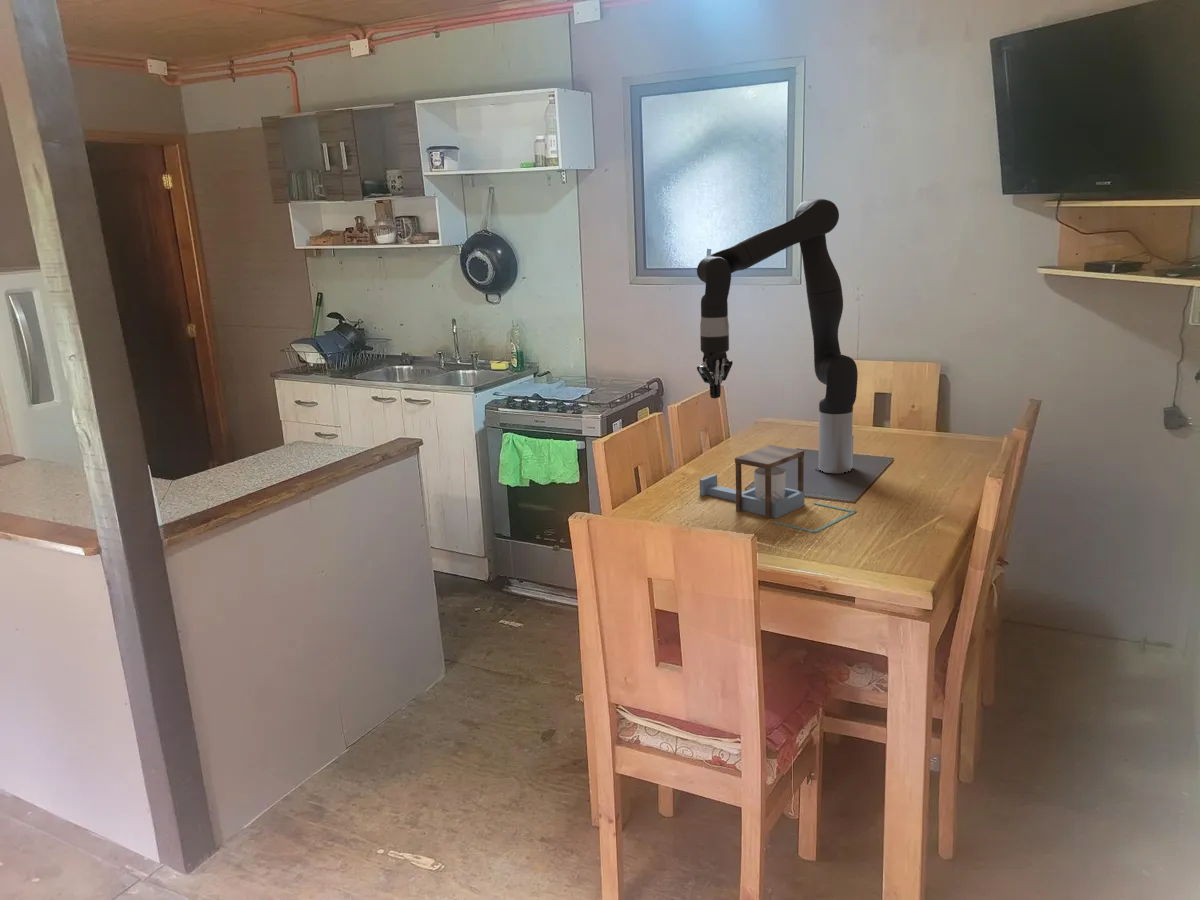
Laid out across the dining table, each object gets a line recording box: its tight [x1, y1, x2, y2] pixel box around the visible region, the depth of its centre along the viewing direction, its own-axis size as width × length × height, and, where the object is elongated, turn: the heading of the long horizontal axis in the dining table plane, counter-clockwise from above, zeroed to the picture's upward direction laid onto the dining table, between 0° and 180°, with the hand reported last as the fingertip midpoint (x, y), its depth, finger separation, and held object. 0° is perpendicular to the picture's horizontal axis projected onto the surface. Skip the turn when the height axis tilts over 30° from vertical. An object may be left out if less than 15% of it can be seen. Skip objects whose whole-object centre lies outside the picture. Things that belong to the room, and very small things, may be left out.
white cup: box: [753, 466, 787, 502], centre depth 218 cm, size 8×8×10 cm
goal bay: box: [773, 502, 858, 534], centre depth 210 cm, size 18×11×1 cm, turn 134°
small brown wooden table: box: [734, 444, 805, 520], centre depth 217 cm, size 15×10×14 cm, turn 134°
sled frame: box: [699, 473, 805, 519], centre depth 223 cm, size 12×26×4 cm, turn 44°
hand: (715, 397), depth 234 cm, fingers closed
